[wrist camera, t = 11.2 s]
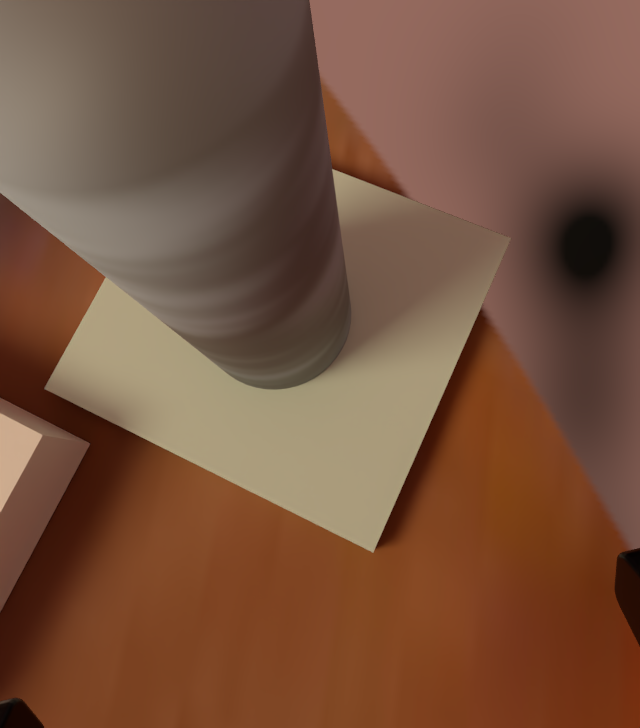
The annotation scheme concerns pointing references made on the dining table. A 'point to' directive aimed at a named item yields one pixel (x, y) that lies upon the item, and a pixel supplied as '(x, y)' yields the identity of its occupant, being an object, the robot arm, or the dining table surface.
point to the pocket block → (30, 484)
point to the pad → (323, 393)
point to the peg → (185, 168)
